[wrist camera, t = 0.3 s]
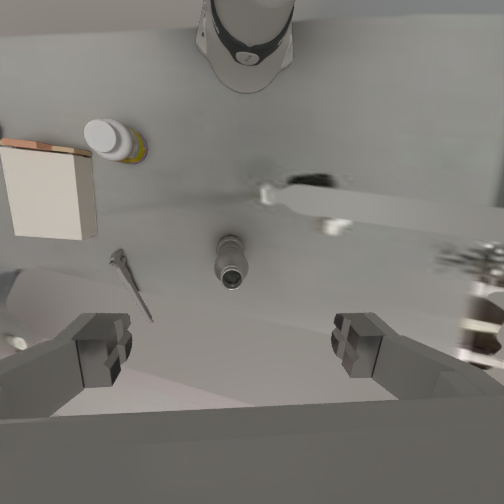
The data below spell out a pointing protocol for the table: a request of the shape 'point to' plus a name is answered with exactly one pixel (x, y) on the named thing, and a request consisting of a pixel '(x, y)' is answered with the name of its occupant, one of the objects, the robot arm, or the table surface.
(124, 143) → the supplement bottle
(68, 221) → the sleeve
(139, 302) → the caliper
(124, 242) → the table surface
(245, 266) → the plastic bottle
